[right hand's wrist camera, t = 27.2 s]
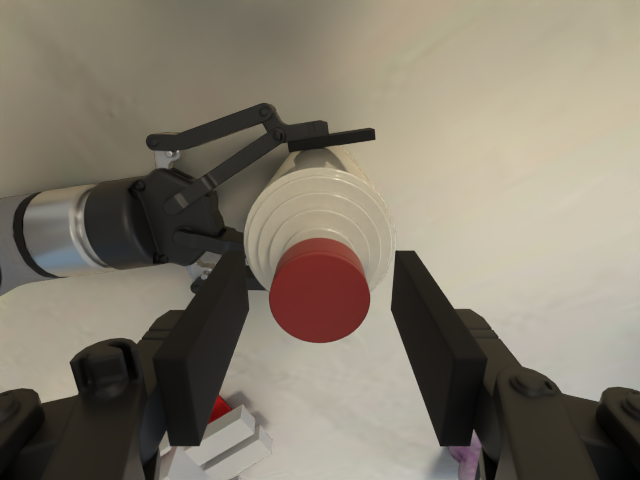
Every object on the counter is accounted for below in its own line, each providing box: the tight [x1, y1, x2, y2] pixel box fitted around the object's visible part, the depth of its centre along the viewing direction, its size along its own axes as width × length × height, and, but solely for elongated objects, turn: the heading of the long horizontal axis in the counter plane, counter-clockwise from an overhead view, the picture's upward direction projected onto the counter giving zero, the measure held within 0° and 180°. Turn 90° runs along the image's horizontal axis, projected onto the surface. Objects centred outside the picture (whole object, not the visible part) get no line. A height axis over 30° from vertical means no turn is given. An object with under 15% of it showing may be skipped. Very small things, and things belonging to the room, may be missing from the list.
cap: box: [269, 238, 370, 343], centre depth 14 cm, size 4×4×2 cm
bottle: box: [244, 145, 396, 293], centre depth 24 cm, size 8×8×22 cm
